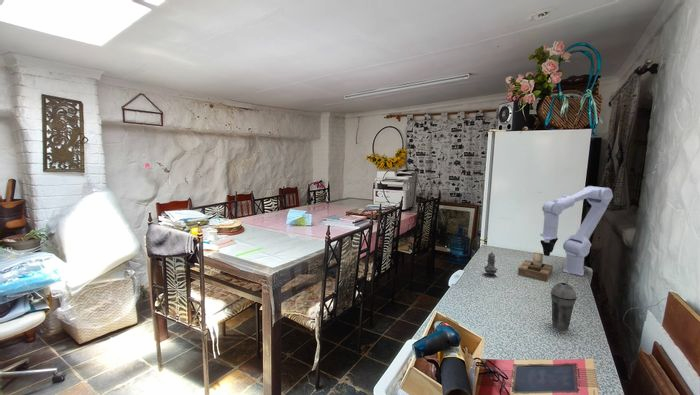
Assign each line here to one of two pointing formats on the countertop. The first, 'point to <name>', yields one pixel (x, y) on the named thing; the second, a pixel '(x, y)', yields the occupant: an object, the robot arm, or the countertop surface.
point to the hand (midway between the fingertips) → (548, 253)
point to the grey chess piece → (490, 266)
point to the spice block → (535, 270)
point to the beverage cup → (562, 304)
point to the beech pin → (537, 259)
